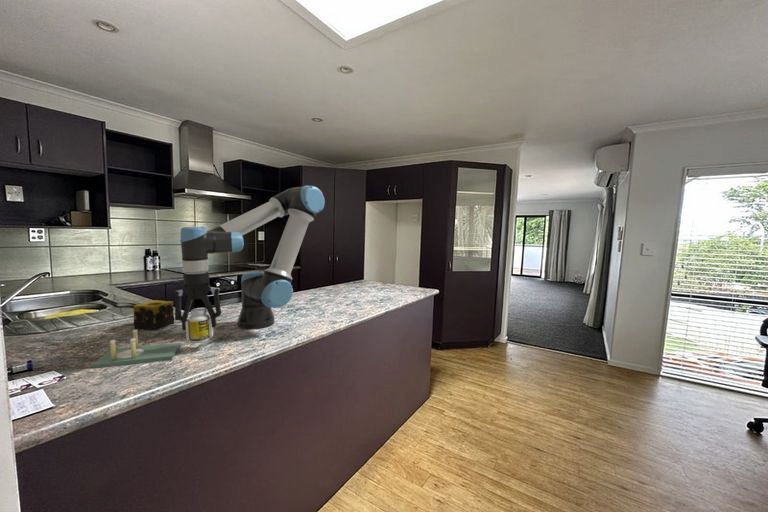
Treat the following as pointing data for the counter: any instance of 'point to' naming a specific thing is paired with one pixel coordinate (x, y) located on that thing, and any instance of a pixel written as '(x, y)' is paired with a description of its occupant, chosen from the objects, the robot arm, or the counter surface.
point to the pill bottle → (199, 325)
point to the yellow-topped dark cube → (153, 315)
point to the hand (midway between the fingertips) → (200, 337)
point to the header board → (136, 353)
